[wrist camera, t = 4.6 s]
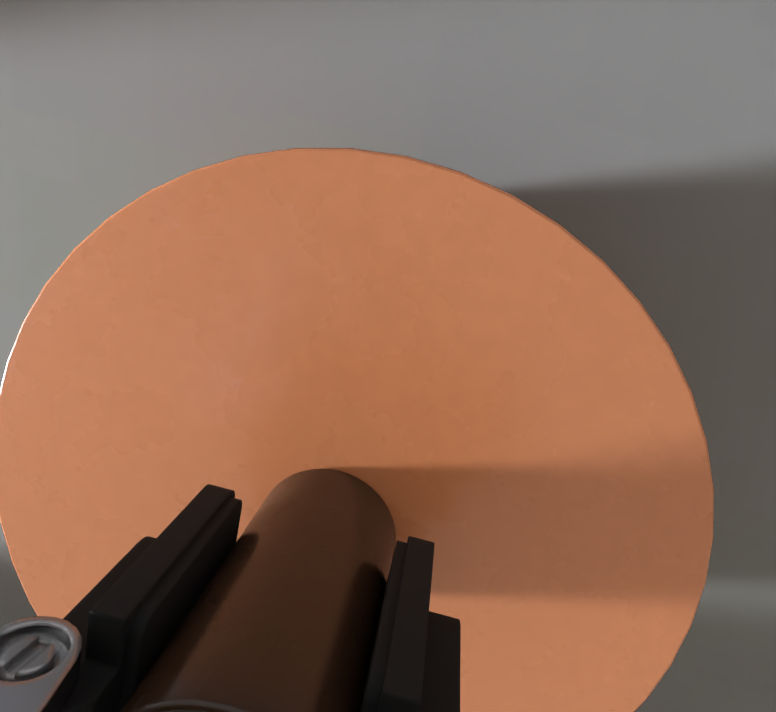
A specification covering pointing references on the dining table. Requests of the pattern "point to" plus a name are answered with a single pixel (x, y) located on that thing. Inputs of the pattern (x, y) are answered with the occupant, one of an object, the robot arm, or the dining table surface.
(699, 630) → the dining table surface
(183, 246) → the lid
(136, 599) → the robot arm
